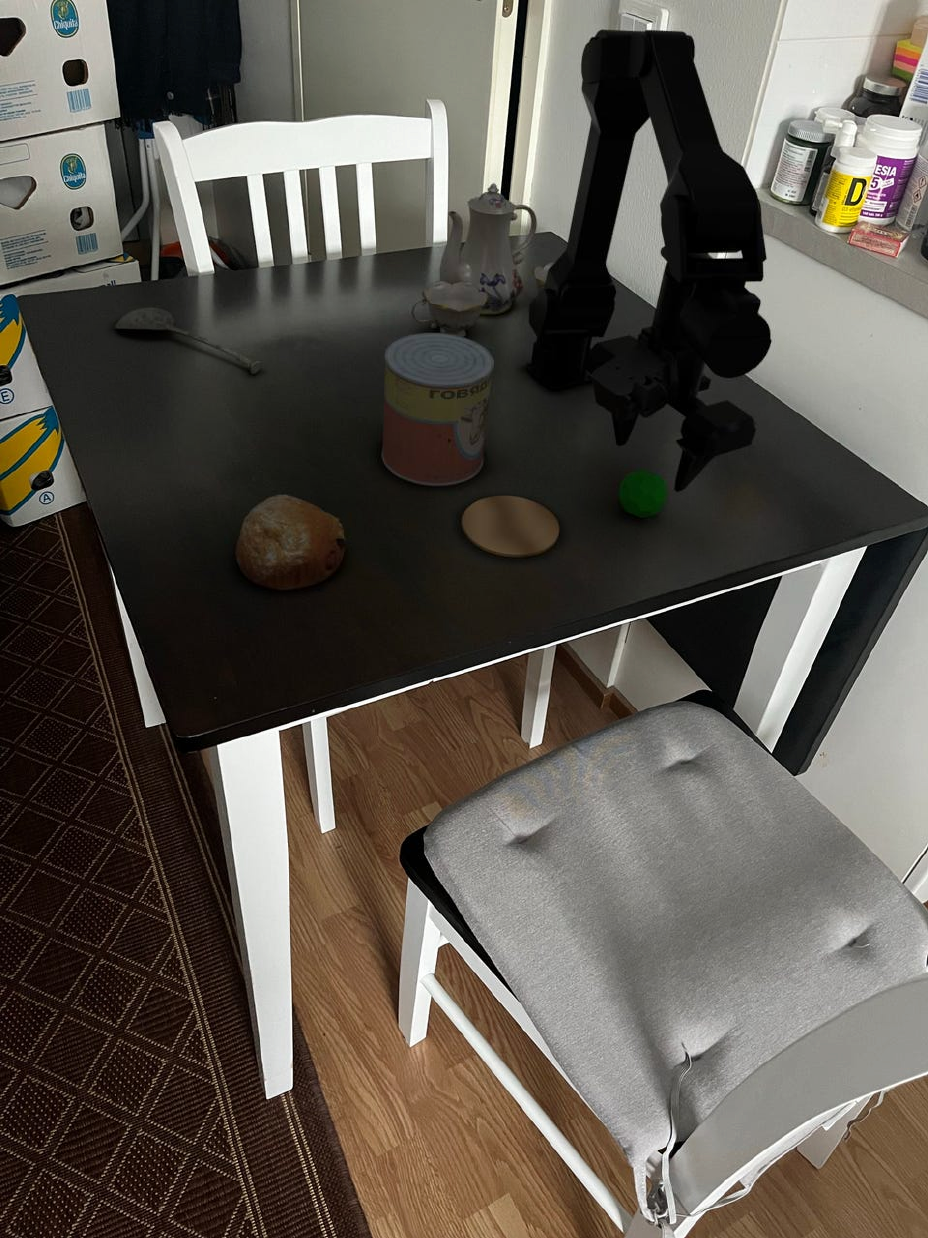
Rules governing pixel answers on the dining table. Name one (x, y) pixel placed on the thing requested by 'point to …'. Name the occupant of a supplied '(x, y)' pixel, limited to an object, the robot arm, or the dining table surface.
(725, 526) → the dining table surface
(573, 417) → the dining table surface
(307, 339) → the dining table surface
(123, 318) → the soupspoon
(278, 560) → the bread roll
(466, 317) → the chinaware
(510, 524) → the coaster
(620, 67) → the robot arm
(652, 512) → the polyhedron
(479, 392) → the canned food
